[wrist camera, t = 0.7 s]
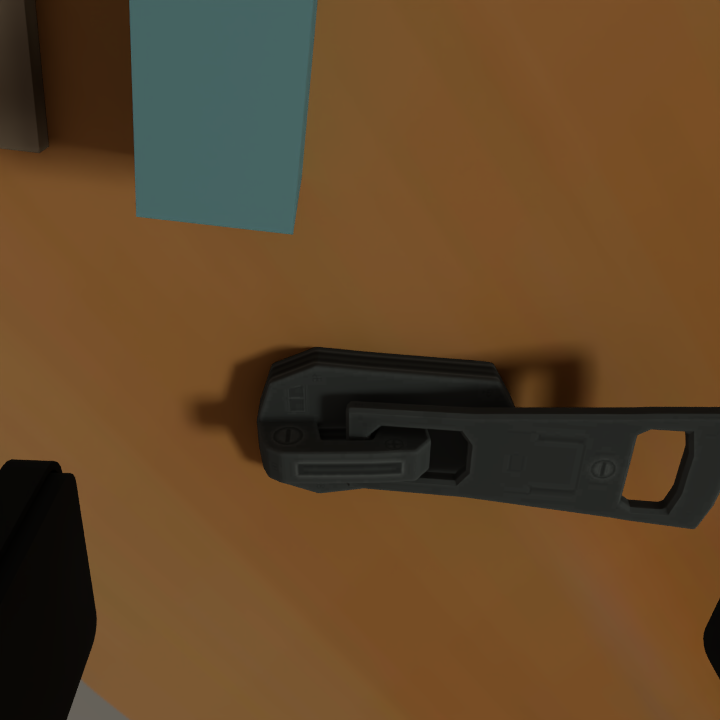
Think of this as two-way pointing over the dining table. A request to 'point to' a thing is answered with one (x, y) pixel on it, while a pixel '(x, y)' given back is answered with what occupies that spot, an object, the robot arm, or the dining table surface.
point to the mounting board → (21, 79)
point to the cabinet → (221, 109)
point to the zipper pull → (469, 438)
